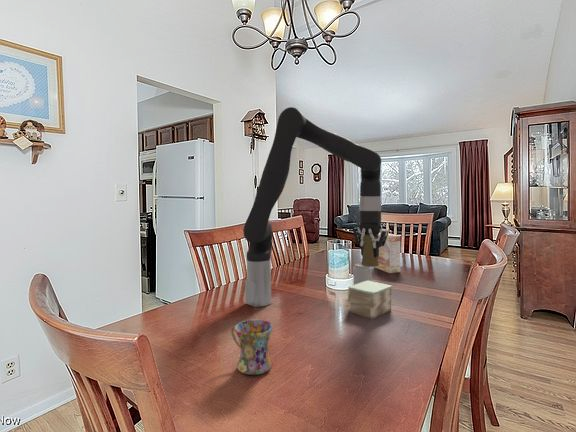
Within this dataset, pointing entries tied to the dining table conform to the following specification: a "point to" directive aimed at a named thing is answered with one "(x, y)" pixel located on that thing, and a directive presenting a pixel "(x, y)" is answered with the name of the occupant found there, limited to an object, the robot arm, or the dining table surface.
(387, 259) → the coffeecake box
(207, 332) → the dining table surface
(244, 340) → the mug
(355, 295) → the box
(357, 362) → the dining table surface
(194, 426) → the dining table surface
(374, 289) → the lid
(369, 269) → the can
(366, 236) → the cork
